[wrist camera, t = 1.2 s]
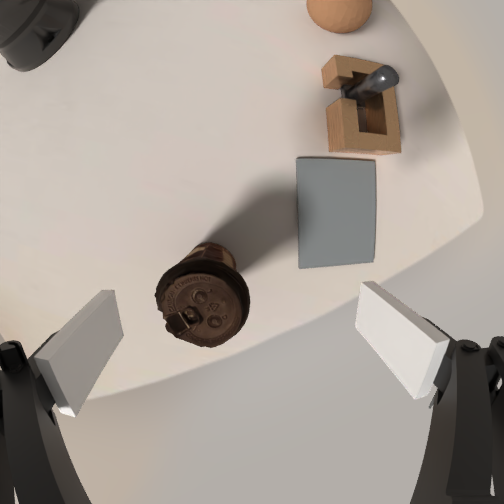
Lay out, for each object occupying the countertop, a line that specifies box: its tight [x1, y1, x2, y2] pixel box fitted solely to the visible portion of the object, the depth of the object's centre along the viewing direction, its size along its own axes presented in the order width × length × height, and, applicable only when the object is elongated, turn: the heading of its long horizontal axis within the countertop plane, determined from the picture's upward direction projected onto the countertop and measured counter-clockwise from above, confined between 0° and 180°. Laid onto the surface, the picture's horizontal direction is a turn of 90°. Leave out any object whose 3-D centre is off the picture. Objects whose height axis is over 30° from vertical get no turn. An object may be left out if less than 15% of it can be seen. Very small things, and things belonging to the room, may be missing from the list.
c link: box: [321, 55, 401, 155], centre depth 29 cm, size 12×8×5 cm, turn 3°
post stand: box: [341, 65, 399, 109], centre depth 26 cm, size 3×3×10 cm
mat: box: [296, 159, 376, 269], centre depth 34 cm, size 14×11×1 cm
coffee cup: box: [155, 242, 250, 348], centre depth 28 cm, size 9×8×13 cm
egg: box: [307, 0, 372, 33], centre depth 22 cm, size 8×8×11 cm
